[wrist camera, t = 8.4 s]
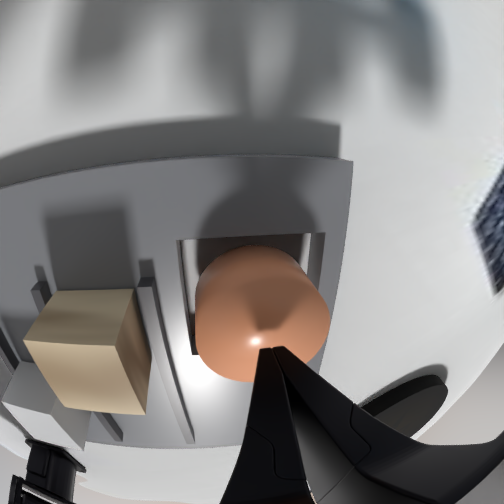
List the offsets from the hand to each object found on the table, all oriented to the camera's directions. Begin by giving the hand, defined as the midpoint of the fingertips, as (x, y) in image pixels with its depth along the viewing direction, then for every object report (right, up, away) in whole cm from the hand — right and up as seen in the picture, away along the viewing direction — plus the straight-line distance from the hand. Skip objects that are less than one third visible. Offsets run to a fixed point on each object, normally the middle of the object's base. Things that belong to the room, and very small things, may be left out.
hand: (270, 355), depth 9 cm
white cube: (-13, -5, +3) cm, 14 cm away
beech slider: (-7, 0, +2) cm, 8 cm away
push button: (-1, +2, +3) cm, 4 cm away
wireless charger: (+15, -17, +16) cm, 28 cm away
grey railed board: (-7, -2, +5) cm, 9 cm away
